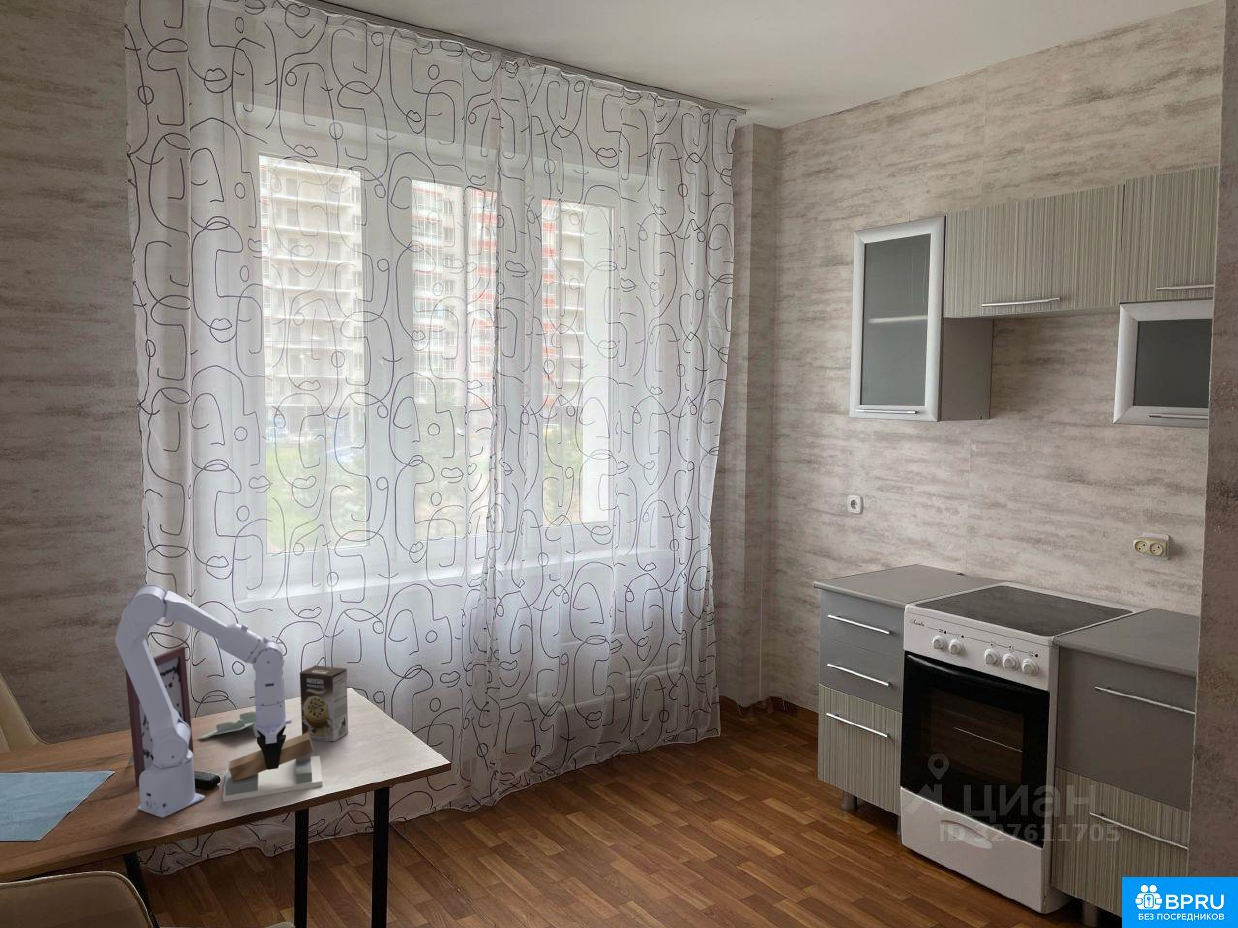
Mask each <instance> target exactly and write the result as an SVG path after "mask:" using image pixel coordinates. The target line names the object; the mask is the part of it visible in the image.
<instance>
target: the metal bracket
mask: <svg viewBox="0 0 1238 928" xmlns="http://www.w3.org/2000/svg"><path fill="white" fill-rule="evenodd" d="M255 723H256V711H253V710H252V711H249V712H244V713H243V712H242V713H240V714H239V719H238V720H236V721H225V722H220V723H218V724H216V725H215V728H216V729H215V730H213V731H211V732H208V733H206V734H204V735H202V736H200V737H198V738H197V741H200V740H205V739H207V738H211V737H213V736H215V735H217V736H218V735H223V734H225V733H231V732H236V731H241V730H243V729H245V728H247V727H251V726H252V729H253V734H254V737H260V735H259V733H258V732H257V729H256V728H255Z"/></svg>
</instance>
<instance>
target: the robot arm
mask: <svg viewBox="0 0 1238 928" xmlns="http://www.w3.org/2000/svg"><path fill="white" fill-rule="evenodd" d="M162 618H164V619H163V624H168V623H169V624H170V623H176V622H181V623H183V624H186V625H188V626H190V627H192V628H194V629H196V630H197V631H200V632H202V633H204V634H206V635H208V636H209V637H211V638H214V639H216V641H217V644H218V645H217V646H218V649H221V650H223V651H224V652H226V653H228V654H229V655H231V656H233V657H235V658H237V659H238V660H240V661H242V662H244V663H246V664H250V665H252V668H253V670H254V671H255V679H254V701H255V702H254V704H255V712H256V723H255V728H256V729H257V732H258V733H259V735H260V737H257V738H256V744H257V745H258V747H259V748H260V750H262V752H263V755H264V759H265V764H266V767H267V769H268V770H271V769H277V768H278V767H279V762H280V754H281V749H282V746H283V744H284V742H285V741H286V738H287V734H285V733H284V732H285V730H286V728H287V725H290V724H292V719H293V718H292V717H286V695H285V677H284V676H283V675H284V669H283V667H284V665H285V660H284V653H283V649H282V647H281V646H280V644H279V643H277V642H276V641H275V640H273V639H269V638H268V637H266V636H264V637H261V636H260V635H258V634H256V633H255V632H253V631H251V630H250V629H249V625H247V624H245V623H242V625H240V624H239V623H237V622H236V623H230V624H226V623H224V622H223V621H221V620H220V619H218V618H217V617H214V616H213V615H211V614H210V613H208V612H206V611H205V610H203V609H201V608H200V607H198V606H197V605H195V604H193V603H192V602H190V601H189V600H187V599H185V598H184V597H182V596H180V595H179V594H178V593H175V592H173V591H170V590H166V589H165V588H163V587H162V586H161V585H158V584H153V583H152V584H151V583H150V584H145V585H143V586H141V587H139V588H138V589H137V590H136V591H135V593H134V594H133V595H132V596H131V598H130V600H129V601H128V603H127V605H126V606H125V608H124V609H123V611H122V613H121V618H120V621H119V623H118V624H119V625H118V628H117V632H116V635H115V639H114V641H115V646H116V648H117V650H118V653H119V654H120V657H121V659H122V662H123V664H124V667H125V670H126V669H127V672H128V674H129V677H130V679H131V681H132V684H133V686H134V688H135V691H136V693H137V696H138V698H139V700H140V703H141V705H142V708H143V710H144V712H145V715H146V717H147V719H148V722H149V727H150V734H151V738H152V740H153V751H152V752H153V757H154V759H153V764H152V765H151V766H150V767H149V768H148V769H147V770H145V771H143V772H142V773H141V774H140V777H139V785H138V789H139V805H138V807H137V809H138V810H140V811H142V812H145V813H148V814H150V815H153V816H156V817H158V818H166V817H168V816H169V815H172V814H174V813H176V812H178V811H180V810H182V809H185V808H187V807H190V806H192V805H194V804H196V803H198V802H201V801H202V800H204V799H206V796H205V795H203V794H201V793H197V792H196V785H195V768H194V767H195V764H194V753H192V752H191V751H190V750H189V748H188V745H189V740H190V738H191V729H192V728H191V729H190V727H189V725H188V724H187V723H185V722H184V721H183V720H182V719H181V718H180V716H179V714H178V712H177V711H176V710H175V709H174V708H173V705H172V703H171V700H170V698H169V696H168V693H167V691H166V688H165V686H164V683H163V681H162V679H161V676H160V674H159V671H158V669H157V666H156V664H155V662H154V659H153V658H154V656H153V655H152V653H151V649H150V648H149V645H148V643H147V640H146V636H147V635H148V633H149V631H150V630H151V628H152V627H154V626H155V625H156V624H158V622H159V621H161V619H162Z"/></svg>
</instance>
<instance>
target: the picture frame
mask: <svg viewBox="0 0 1238 928" xmlns="http://www.w3.org/2000/svg"><path fill="white" fill-rule="evenodd" d="M185 650H186V648H185V646H178V647H176V648H173V649H171V650H168V651H165V652H163V653H162V654H158V655H157V656H153V659H154V662H155V664H156V666H157V669H158V671H159V674H160V676H161V679H162V681H163V683H164V686H165V688H166V691H167V693H168V696H169V698H170V700H171V703H172V705H173V708H174V709H175V710H176V711H177V712H178V714H179V716H180V718H181V719H182V720H183V721H184V722H185V723H187V724H188V725H189V727H190V729H191V738H190V740H189V745H188V748H189V750H190V751H191V752H192V753H193V754H194V753H195V752H194V743H193V732H192V719H191V708H190V707H191V706H190V695H189V694H190V693H189V685H188V673H187V660H186V651H185ZM125 678H126V679H125V680H126V688H127V689H126V692H127V700H128V701H127V702H128V711H129V713H128V714H129V723H130V733H131V734H130V735H131V745H132V746H131V747H132V754H131V756H130V758H129V761H128V763H127V766H128V765H130V764H132V763H133V767H134V778H135V786H139V777H140V774H141V773H142V772H143V771H145V770H147V769H148V768H149V767H150V766H151V765H152V764H153V759H154V757H153V752H152V751H153V740H152V738H151V734H150V727H149V722H148V719H147V717H146V715H145V712H144V710H143V708H142V705H141V703H140V700H139V698H138V696H137V693H136V691H135V688H134V686H133V684H132V681H131V679H130V677H129V674H128V672H127V669H126V668H125Z"/></svg>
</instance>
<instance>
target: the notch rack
mask: <svg viewBox="0 0 1238 928" xmlns="http://www.w3.org/2000/svg"><path fill="white" fill-rule="evenodd" d="M230 761H231V760H229V761H228V765H227V769H226V772H225V780H224V787H223V793H222V794H223V795H222V802H223V803H225V802H226V803H227V802H230V801H231V802H232V801H239V800H244V799H249V798H250V799H251V798H255V797H256V798H257V797H262V796H268V795H274V794H280V793H286V792H294V791H299V790H306V789H312V788H318V787H323V776H322V767H321V766H322V765H321V758H320V755H314V756H311V753H310V754H307V755H304V756H302V757H299V758H297V759H294V760H291V761H289V762H286V763H283V764H281V765H279V767H278V768H277V769H271V770H268V769H267V770H265V771H262V772H260V773H257V774H254V775H252V776H249V777H246V778H244V779H241V780H238V781H236V782H233V779H232V776H231V773H230V770H229V765H230Z"/></svg>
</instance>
